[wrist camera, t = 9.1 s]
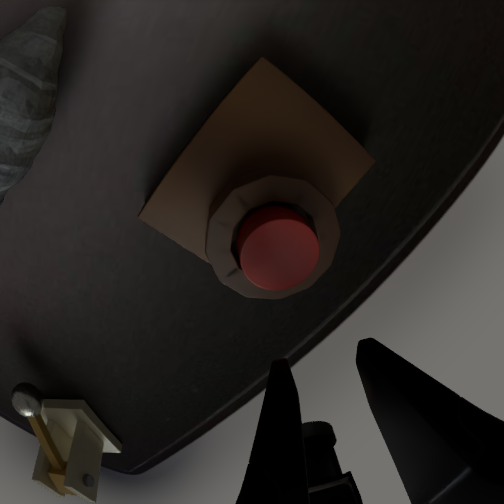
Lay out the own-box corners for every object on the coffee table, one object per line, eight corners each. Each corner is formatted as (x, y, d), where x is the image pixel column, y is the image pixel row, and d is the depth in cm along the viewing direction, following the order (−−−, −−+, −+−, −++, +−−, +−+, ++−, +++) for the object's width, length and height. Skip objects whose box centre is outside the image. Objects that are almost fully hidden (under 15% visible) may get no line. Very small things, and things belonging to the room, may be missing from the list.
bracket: (32, 398, 24) (9, 466, 16) (83, 399, 24) (65, 478, 16) (73, 442, 28) (62, 502, 20) (122, 444, 29) (115, 511, 21)
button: (269, 189, 14) (277, 201, 13) (323, 232, 16) (335, 248, 14) (221, 247, 15) (223, 265, 14) (276, 283, 17) (283, 302, 15)
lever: (18, 376, 21) (-1, 389, 18) (42, 377, 21) (23, 391, 18) (65, 476, 22) (54, 494, 18) (90, 480, 22) (79, 498, 19)
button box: (256, 59, 14) (268, 50, 11) (373, 167, 18) (404, 183, 14) (143, 205, 17) (129, 230, 14) (267, 285, 20) (277, 319, 17)
